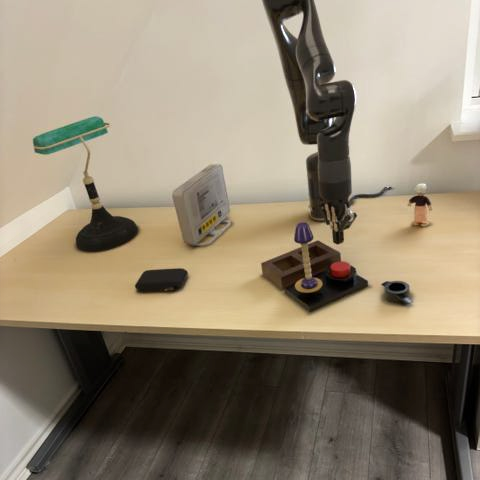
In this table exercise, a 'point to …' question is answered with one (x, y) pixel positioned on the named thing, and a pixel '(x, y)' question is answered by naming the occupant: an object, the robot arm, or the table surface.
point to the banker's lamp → (89, 187)
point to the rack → (299, 264)
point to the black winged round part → (397, 292)
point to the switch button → (340, 269)
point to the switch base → (327, 289)
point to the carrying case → (161, 279)
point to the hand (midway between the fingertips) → (338, 242)
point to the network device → (202, 205)
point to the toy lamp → (305, 253)
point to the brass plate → (300, 289)
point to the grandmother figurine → (420, 205)
